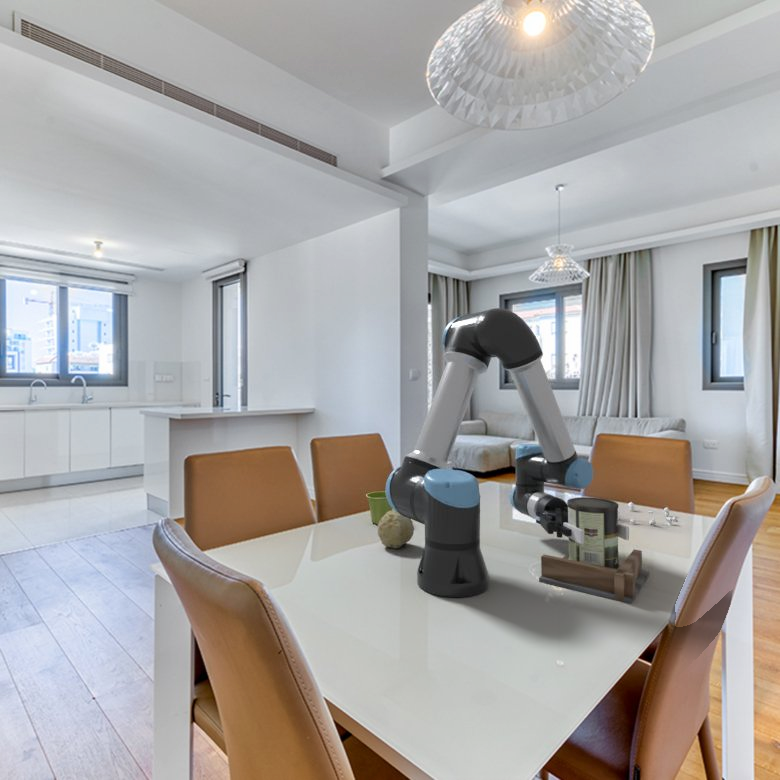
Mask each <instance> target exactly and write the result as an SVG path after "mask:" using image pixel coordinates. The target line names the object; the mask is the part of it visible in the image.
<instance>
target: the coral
mask: <svg viewBox="0 0 780 780" xmlns="http://www.w3.org/2000/svg"><path fill="white" fill-rule="evenodd" d="M413 524H414V521H413V520H412V519H410V518H407V517H403V516H402V515H400V514H399V513H398V512H396V511H395V510H394V509H393V510H391V511H389V512H387V513H386V514H385V515H384V516H383V517H382V518H381V520H380V522H379V524H377V534H378V537H379V539H380V541H381V544H382V545H383V546H385V547H388V548H392V549H400V548H401V547H402V546H403V545H405V544H406V543H408V542H410V540H411V539H412V538H413V535H414V532H415V528H414V525H413Z"/></svg>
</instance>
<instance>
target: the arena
mask: <svg viewBox="0 0 780 780" xmlns="http://www.w3.org/2000/svg"><path fill="white" fill-rule="evenodd" d="M540 556H541V557H540V559H541V561H540V562H541V563H540V566H541V567H540V569H541V571H540V572H541V575H540V577H538V582H540V583H543V584H547V585H548V584H549V585H551V586H552V585H553V586H556V587H561V588H564V589H569V590H572V591H576V592H577V591H578V592H581V593H585V594H589V595H594V596H597V597H602V598H606V599H609V600H614V601H618V602H623V603H627V604H630V605H631V604H633V602H634V600H635V599H636V597H637V595H638V594H639V592H640V591H641V588H642V587H643V586H644V584H645V582H646V580H647V579H648V578H649V576H650V570H646V569H643V550H640V549H635V548H634V549H632V551H631V552H630V554H628V556H627V557H626V559H625V560H624V561H623V562H622V564H618V565H619V569H614V568H609V567H604V566H599V565H594V564H589V563H584V562H579V561H574V560H569V554H565V555H564V556H563V557H559V556H554V555H550V554H543V555H540Z"/></svg>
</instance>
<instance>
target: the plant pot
mask: <svg viewBox="0 0 780 780" xmlns="http://www.w3.org/2000/svg"><path fill="white" fill-rule="evenodd" d="M365 496H366V498H367V502H368V505H369V513H370V519H371V523H372V524H375V525H378V524H379V522H380V520H381V518H382V517H383V516H384V515H385V514H386V513H387V512H389V511H391V510H394V509H393V508H392V507H391V506H390V505H389V503H388V500H387V498H386V491H373V492H369V493H367V494H365Z"/></svg>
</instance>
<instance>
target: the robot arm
mask: <svg viewBox="0 0 780 780" xmlns="http://www.w3.org/2000/svg"><path fill="white" fill-rule="evenodd" d="M441 340H442V343H441V344H443V347H442V348H443V351H444V353H443V359H444V361H445V366H444V370H443V373H442V374H441V378H440V381H439V383H438V386H437V387H436V391H435V393H434V396H433V400H432V402H431V405H430V407H429V410H428V412H427V415H426V417H425V420H424V424H423V426H422V427H421V428H422V429H421V431H420V433H419V437H418V439H417V442H416V443H415V446H414V450H413V451H412V452H410V453H407V454H405V456H404V458H403V461H402V464H401V465H400V466H399V467H397V468H395V469H394V470H393V471H391V473H390V474H389V475H388V478H387V479H386V483H385V491H384V492H386V498H387V500H388V503H389V505H390V506H391V507H392V508H393V510H395V511H396V512H398V513H399V514H400V515H402V516H403V517H407V518H410V519H411V521H415V522H417V523H420V524H422V525H423V526H424V548H423V552H422V555H421V558H420V562H419V565H418V568H417V571H416V577H417V579H416V581H417V585H418V587H419V588H420V589H422V590H423V591H425V592H426V593H429V594H432V595H436V596H441V597H449V598H466V597H472V596H476V595H479V594H482V593H484V592H485V591H486V590H487V589H488V588H489V585H490V576H489V575H490V574H489V571H488V568H487V565H486V562H485V559H484V556H483V552H482V550H481V536H480V535H481V522H480V521H481V494H480V486H479V485H480V483H479V481H478V479H477V478H476V477H475V476H474V475H473V474H471V473H469V472H467V471H464V470H459V469H453V468H449V465H448V462H449V459H450V457H451V454H452V451H453V448H454V445H455V443H456V440H457V437H458V435H459V432H460V429H461V426H462V423H463V421H464V418H465V416H466V415H465V414H466V411H467V409H468V407H469V404H470V402H471V397H472V395H473V392H474V390H475V386H476V383H477V381H478V378H479V376H480V375H482V374H484V373H486V372H487V371H488V368H489V366H490V363H491V361H492V358H497V359H498V360H500V361H499V362H500V363H501V366H502V368H503V370H505V371H507V372H509V373H510V376H511V378H512V380H513V383H514V385H515V388H516V390H517V393H518V396H519V397H520V400H521V403H522V405H523V407H524V411H525V412H526V415H527V417H528V420H529V422H530V425H531V427H532V430H533V432H534V435H535V437H536V440H537V439H538V442H539V444H540V445H539V444H537V443H520V444H518V445H517V446H516V448H515V458H514V463H515V485H514V487H513V488H512V489H511V491H510V493H509V501H510V504H511V506H512V507H513V508H514V509H515V510H516V511H517V512H519V513H521V514H523V515H525V516H528V517H530V518H531V519H533V520H535V523H536V524H539V525H540V526H541V527H542V528H543V530H544V531H545V532H546V533H547V534H548V535H554V533H556V538H560V539H561V538H563V536H565V537H567V538H568V539H569V538H570V539H572V540H574V541H576V542H578V543H580V544H584V530H581V529H579V528H577V527H575V526H573V525H571V524H569V523H568V504H567V501H565V500H564V499H562V498H559V497H557V496H554V495H553V494H550V493H547V492H545V484H552V485H556V486H561V487H565V488H568V489H575V490H584V489H586V488H587V487H589V485H591V483H592V481H593V479H594V467H593V465H592V464H591V462H590V461H589V460H587V459H585V458H582V457H579V456H578V453H577V451H576V448H575V446H574V444H573V440H572V438H571V436H570V433H569V430H568V428H567V425H566V422H565V420H564V417H563V414H562V412H561V409H560V407H559V405H558V401H557V400H556V396H555V393H554V391H553V388H552V385H551V384H550V380H549V379H548V376H547V372H546V370H545V369H544V365H543V362H542V358H543V355H544V353H543V350H542V347H541V344H540V342H539V341H538V338H537V336H536V335H535V334H534V332H533V330H532V329H531V327H530V326H529V324H527V323H526V321H524V319H523V318H521V316H519V315H518V313H515V312H513V311H511V310H510V309H507V308H502V307H494V308H490V309H488V310H483V311H482V310H481V311H478V312H474V313H466V314H463V315H460V316H458V317H455V318H453V319H452V320H451V321H449V323H448V324H447V325H446V327H445V328H444V330H443V334H442V339H441ZM618 538H621V539H623V540H625V541H630V527H629V526H627V525H624V524H623V523H619V522H618Z"/></svg>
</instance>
